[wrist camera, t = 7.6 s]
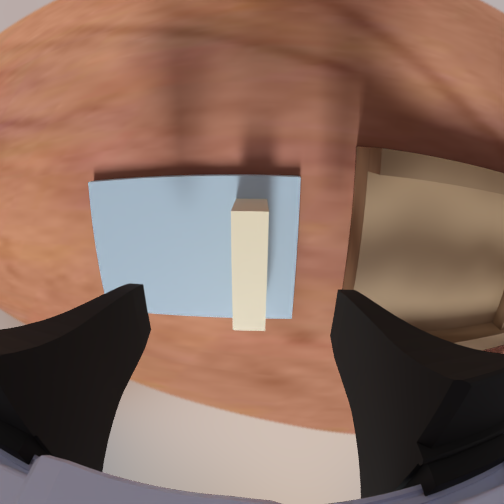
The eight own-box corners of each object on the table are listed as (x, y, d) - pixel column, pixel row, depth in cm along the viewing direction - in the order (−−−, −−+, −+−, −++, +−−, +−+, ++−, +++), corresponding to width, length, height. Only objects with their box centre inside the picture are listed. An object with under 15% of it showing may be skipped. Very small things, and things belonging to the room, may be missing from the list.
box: (483, 321, 19) (506, 344, 15) (334, 334, 19) (346, 370, 16) (517, 178, 15) (549, 188, 11) (356, 146, 15) (381, 148, 11)
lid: (289, 308, 19) (296, 349, 15) (115, 300, 19) (88, 334, 15) (297, 174, 16) (310, 184, 12) (97, 179, 16) (59, 191, 12)
